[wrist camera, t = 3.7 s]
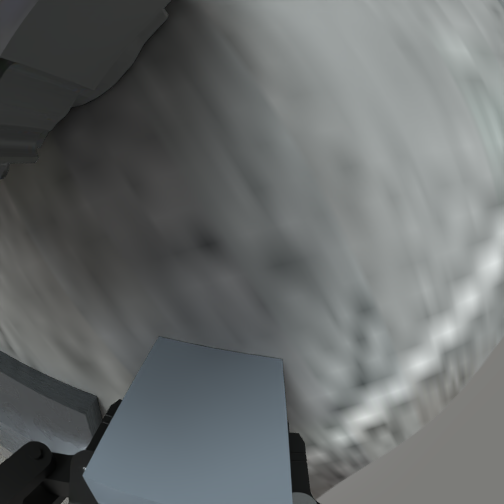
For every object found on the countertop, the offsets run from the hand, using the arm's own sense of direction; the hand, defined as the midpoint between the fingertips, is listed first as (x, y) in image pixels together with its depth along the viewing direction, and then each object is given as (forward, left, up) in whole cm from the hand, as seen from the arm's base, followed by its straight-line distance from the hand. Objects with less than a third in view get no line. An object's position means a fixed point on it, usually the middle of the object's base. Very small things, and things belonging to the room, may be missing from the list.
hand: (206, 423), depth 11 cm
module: (0, 0, -1) cm, 1 cm away
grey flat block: (+9, -15, -1) cm, 17 cm away
